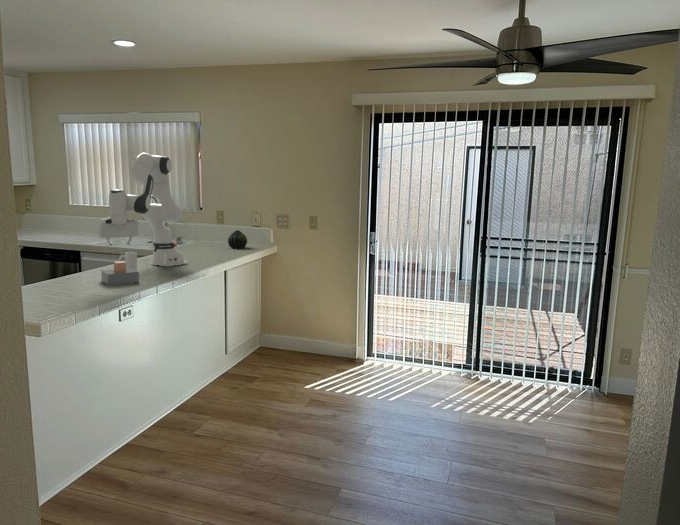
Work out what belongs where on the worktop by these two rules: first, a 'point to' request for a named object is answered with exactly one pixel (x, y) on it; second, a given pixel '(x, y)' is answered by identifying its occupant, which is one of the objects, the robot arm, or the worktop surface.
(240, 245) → the squash
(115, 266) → the cube
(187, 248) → the worktop surface
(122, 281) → the stand
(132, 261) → the mug
